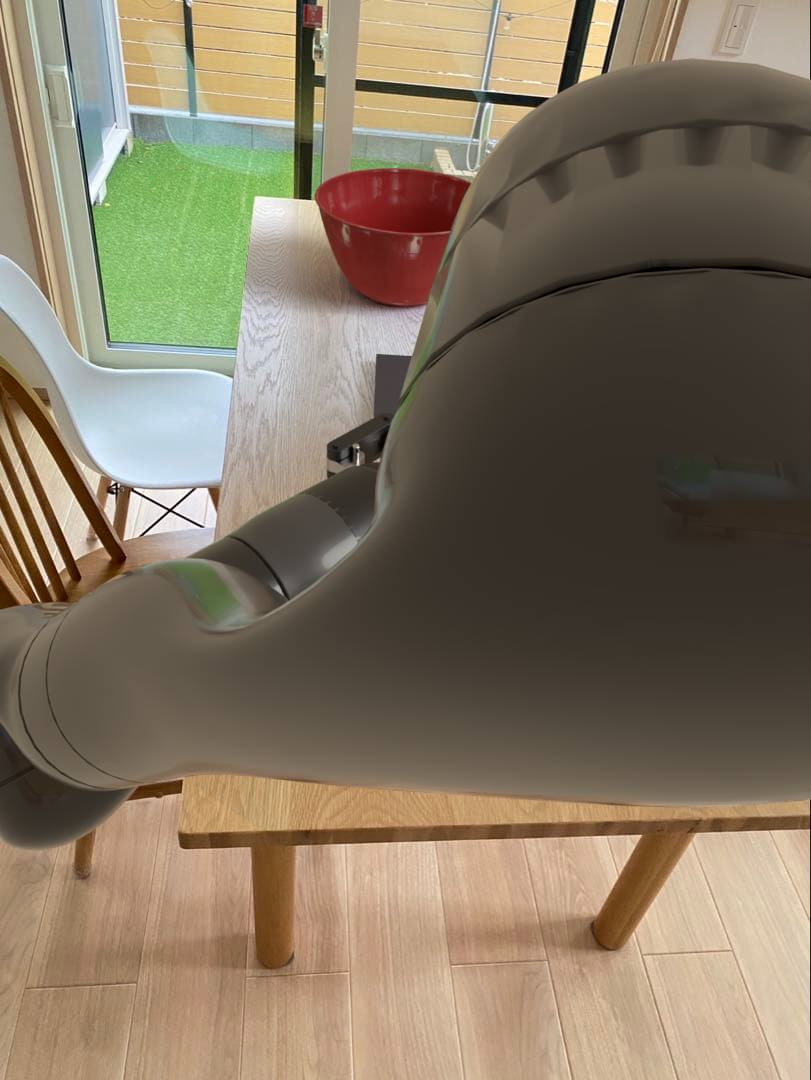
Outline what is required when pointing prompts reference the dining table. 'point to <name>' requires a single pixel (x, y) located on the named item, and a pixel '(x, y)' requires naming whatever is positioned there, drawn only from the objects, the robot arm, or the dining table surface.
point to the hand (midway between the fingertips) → (506, 449)
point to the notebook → (389, 382)
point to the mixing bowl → (390, 229)
